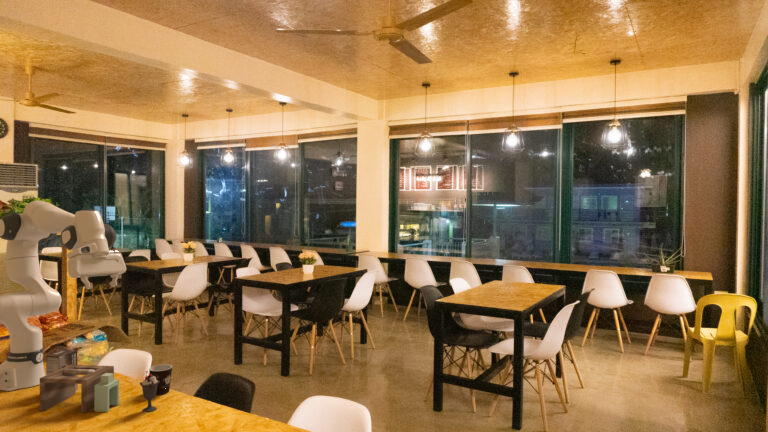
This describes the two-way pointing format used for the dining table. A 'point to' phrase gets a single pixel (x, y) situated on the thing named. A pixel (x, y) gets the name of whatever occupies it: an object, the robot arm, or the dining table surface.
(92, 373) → the wooden frame with rod
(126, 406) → the dining table surface
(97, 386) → the green u-channel bracket
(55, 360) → the coffee box
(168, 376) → the coffee mug
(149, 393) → the sundae
